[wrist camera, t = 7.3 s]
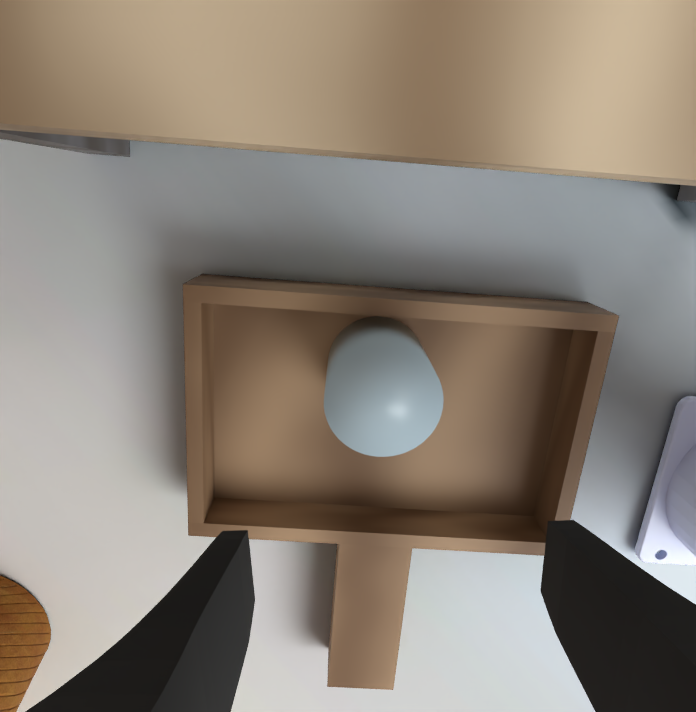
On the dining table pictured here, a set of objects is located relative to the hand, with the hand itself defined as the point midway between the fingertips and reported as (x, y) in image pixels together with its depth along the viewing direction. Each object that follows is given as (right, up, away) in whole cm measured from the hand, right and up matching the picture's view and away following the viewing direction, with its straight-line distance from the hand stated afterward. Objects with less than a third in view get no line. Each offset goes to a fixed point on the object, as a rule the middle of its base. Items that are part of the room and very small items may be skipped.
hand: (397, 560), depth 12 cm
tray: (0, -1, +10) cm, 10 cm away
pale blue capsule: (0, +5, +8) cm, 9 cm away
